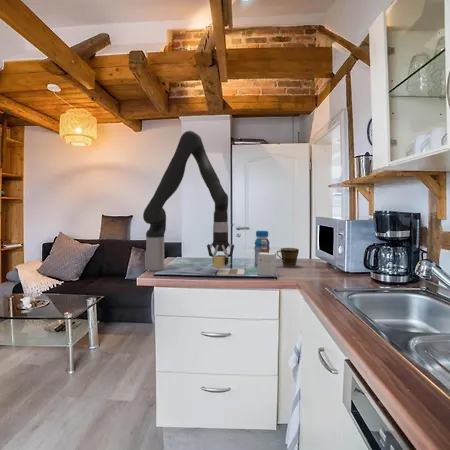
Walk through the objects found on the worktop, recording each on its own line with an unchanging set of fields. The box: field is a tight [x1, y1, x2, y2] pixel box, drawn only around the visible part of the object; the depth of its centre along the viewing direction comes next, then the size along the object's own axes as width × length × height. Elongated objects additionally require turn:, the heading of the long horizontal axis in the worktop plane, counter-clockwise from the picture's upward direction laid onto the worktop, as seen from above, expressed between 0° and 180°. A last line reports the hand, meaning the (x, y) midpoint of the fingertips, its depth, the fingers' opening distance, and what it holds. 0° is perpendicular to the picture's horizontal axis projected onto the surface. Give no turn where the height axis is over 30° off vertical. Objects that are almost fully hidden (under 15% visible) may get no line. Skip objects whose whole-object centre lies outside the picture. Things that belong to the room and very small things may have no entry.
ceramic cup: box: [276, 247, 300, 269], centre depth 167 cm, size 13×10×10 cm
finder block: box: [212, 254, 228, 269], centre depth 151 cm, size 5×9×5 cm, turn 162°
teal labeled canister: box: [253, 230, 271, 269], centre depth 166 cm, size 8×8×20 cm
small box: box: [257, 252, 277, 277], centre depth 146 cm, size 8×6×10 cm
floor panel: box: [216, 268, 246, 277], centre depth 150 cm, size 13×12×1 cm
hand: (220, 264), depth 151 cm, fingers closed on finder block, 5 cm apart
